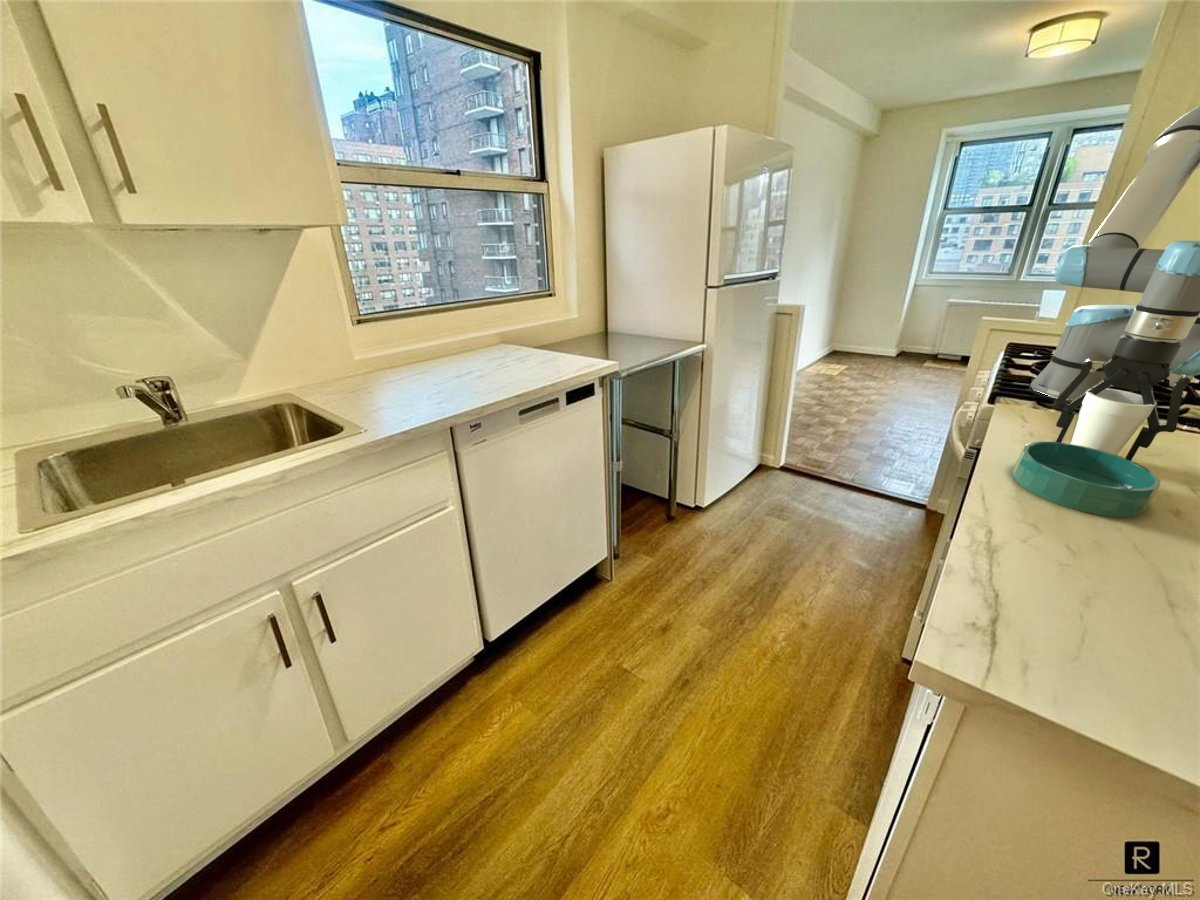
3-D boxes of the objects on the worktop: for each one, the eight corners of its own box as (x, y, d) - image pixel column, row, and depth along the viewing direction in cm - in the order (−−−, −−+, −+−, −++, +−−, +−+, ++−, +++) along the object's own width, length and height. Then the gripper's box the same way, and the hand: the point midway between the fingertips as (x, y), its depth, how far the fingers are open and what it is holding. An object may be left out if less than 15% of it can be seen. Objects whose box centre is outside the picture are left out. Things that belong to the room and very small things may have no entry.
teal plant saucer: (1023, 456, 96) (1034, 433, 93) (1147, 490, 84) (1162, 465, 82) (1002, 486, 85) (1013, 461, 83) (1140, 530, 74) (1157, 503, 72)
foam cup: (1046, 452, 97) (1075, 391, 91) (1072, 444, 100) (1102, 385, 95) (1105, 474, 89) (1141, 409, 84) (1131, 464, 93) (1168, 401, 87)
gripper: (1066, 329, 89) (1017, 438, 99) (1252, 354, 74) (1172, 479, 85) (1072, 323, 94) (1025, 428, 104) (1249, 346, 79) (1174, 465, 89)
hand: (1091, 451), depth 94 cm, fingers closed on foam cup, 9 cm apart
